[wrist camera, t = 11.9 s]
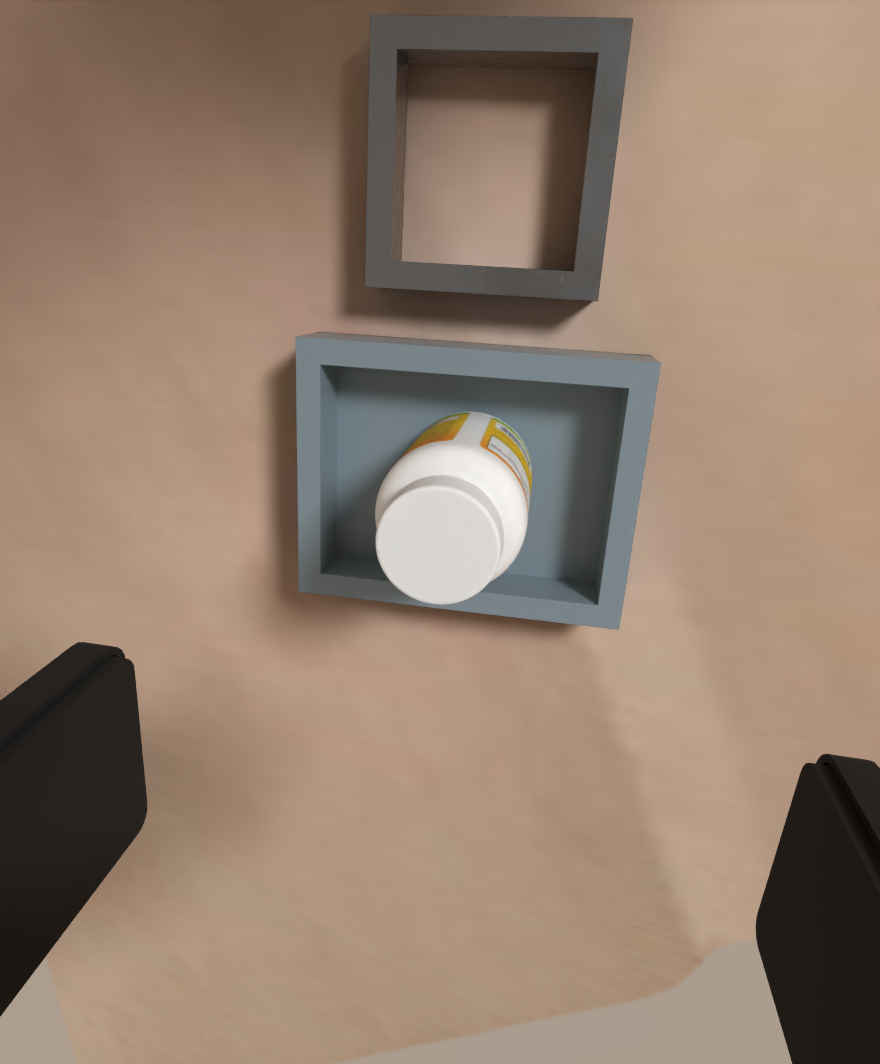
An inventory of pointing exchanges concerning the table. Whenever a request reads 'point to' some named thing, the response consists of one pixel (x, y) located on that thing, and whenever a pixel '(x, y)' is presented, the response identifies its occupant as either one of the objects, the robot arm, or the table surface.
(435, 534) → the supplement bottle
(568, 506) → the tray
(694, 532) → the table surface
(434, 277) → the cradle
